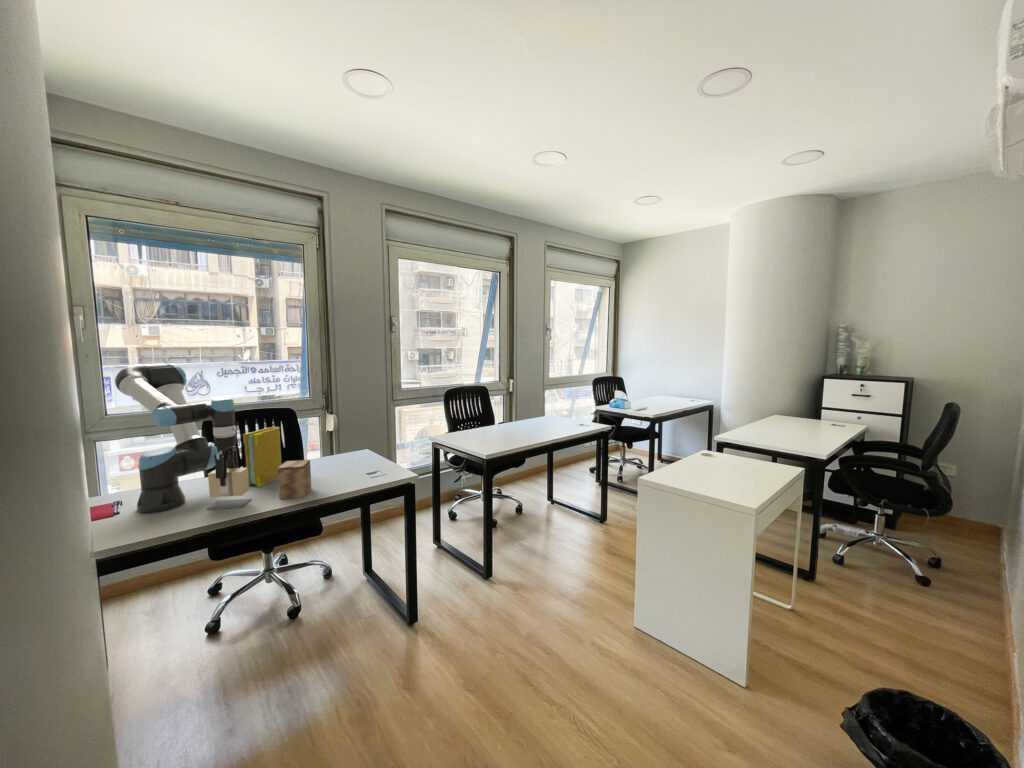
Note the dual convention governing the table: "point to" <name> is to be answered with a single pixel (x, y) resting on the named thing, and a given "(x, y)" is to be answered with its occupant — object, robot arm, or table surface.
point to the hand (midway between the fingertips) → (229, 489)
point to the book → (262, 455)
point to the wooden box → (294, 479)
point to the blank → (229, 483)
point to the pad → (229, 504)
